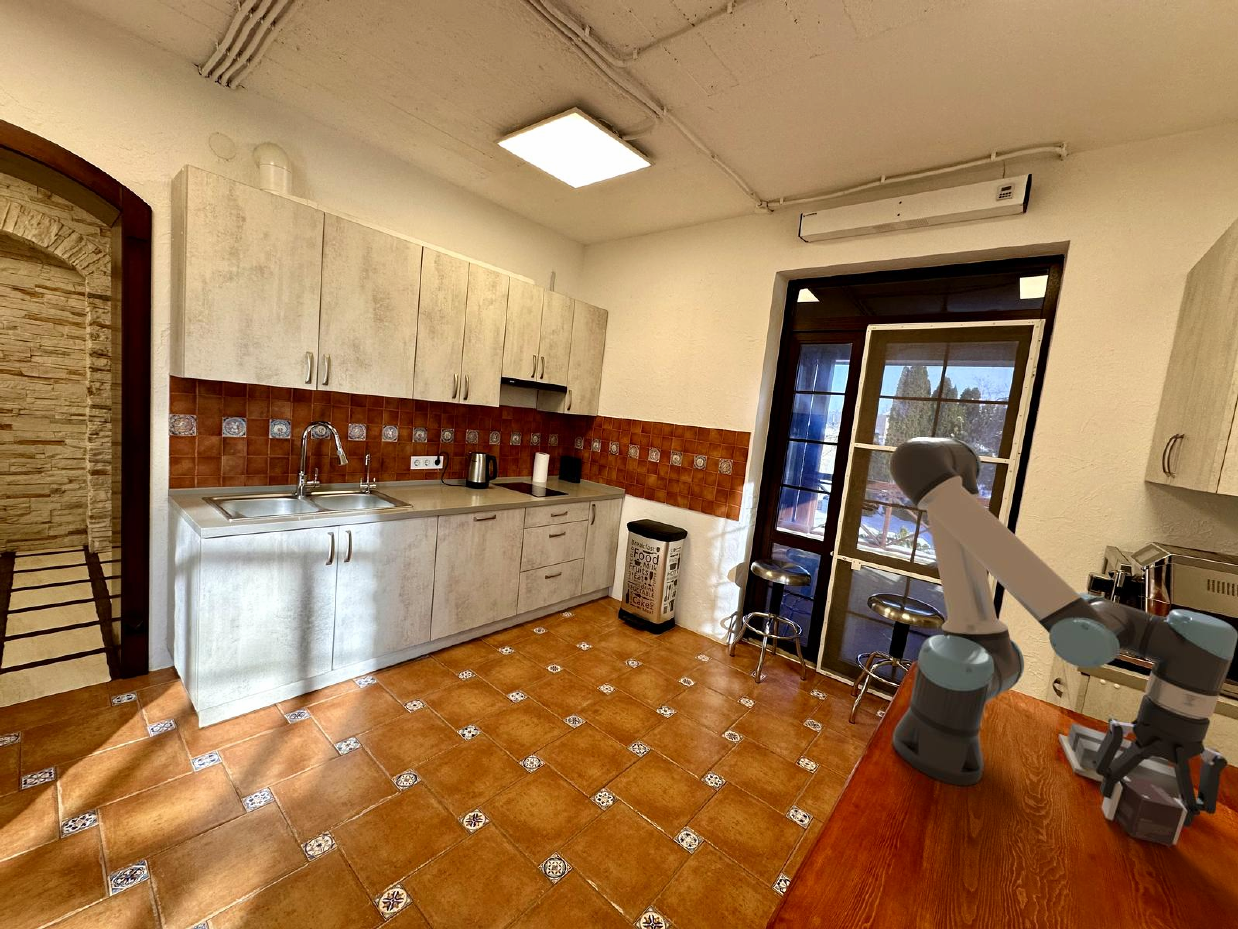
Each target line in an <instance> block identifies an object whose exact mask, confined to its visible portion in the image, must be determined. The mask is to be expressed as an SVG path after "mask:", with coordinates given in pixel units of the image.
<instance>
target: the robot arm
mask: <svg viewBox="0 0 1238 929" xmlns="http://www.w3.org/2000/svg"><path fill="white" fill-rule="evenodd" d="M889 472H890V475H891V477H892V479H893V481H894V483H895V484H896V486H897V487H898V488H899V489H900V491H901V492H902V493H903V495H904V496H906V498H907V499H909V501H910V502H911V503H912V504H913V505H914V506H915V507H916V508H917V509H918V510H922V511H926V514H927V518H928V525H929V528H930V534H931V537H932V538H931V539H932V543H933V548H934V549H933V550H934V555H935V559H936V563H937V569H938V574H939V578H940V583H941V589H942V594H943V599H944V603H945V608H946V614H947V619H946V621H945V622H944V623H943V624H942V625H941V631H942V634H937V635H933V636H930V637H928V638H926V640H925V641H924V642H923V644H922V645H921V648H920V651H919V654H918V657H917V667H916V670H915V676H914V681H913V685H912V692H911V697H910V703H909V706H908V708H907V710H906V712H905V713H904V715H903V716H902V717H901V718H900V720H899V721H898V723H897V725H896V726H895V728H894V729H893V730H894V731H893V735H892V736H893V737H892V744H893V746H894V749H895V750H896V752H897V753H898V754H899V755H900V757H901V758H902V759H904V761H906V762H907V763H908V764H910V765H911V766H912V767H913V768H915V769H916V770H918V771H920V772H921V773H923V774H925V775H927V776H929V777H931V778H933V779H935V780H938V781H941V782H943V783H944V782H945V783H947V784H951V785H956V786H971V785H974V784H977V783H979V782H980V780H981V779H982V775H983V771H984V760H983V755H982V754H983V753H982V749H981V748H982V747H981V742H980V736H979V733H980V728H981V725H982V720H983V715H984V713H985V708H986V705H987V704H988V703H989V702H991V701H992V700H993V699H995V698H997V697H998V696H1000V695H1001V694H1003V693H1004V692H1007V691H1009V690H1011V689H1012V688H1013V687H1014V686H1016V685H1017V683H1018V682H1019V680H1020V679H1021V677H1022V675H1023V673H1024V670H1025V659H1024V656H1023V652H1022V651H1021V649H1020V647H1019V645H1018V644H1017V643H1016V642H1015V641H1013V640H1012V639H1011V636H1010V633H1009V628H1008V625H1007V624H1005V622H1004V623H1003V622H1002V621H1001V620H999V618H997V613H996V608H995V604H994V599H993V594H992V590H991V587H990V586H991V585H990V580H989V576H988V573H989V574H990V575H991V576H992V577H993V578H994V579H995V580H996V581H997V582H998V583H999V584H1000V585H1001V586H1002V587H1003V588H1004V589H1005V590H1006V591H1007V592H1008V593H1009V594H1010V595H1011V597H1013V598H1014V599H1015V600H1016V601H1017V602H1018V603H1019V604H1020V605H1021V606H1022V607H1023V608H1024V609H1025V611H1027V612H1028V613H1029V614H1030V615H1031V617H1033V618H1034V619H1035V621H1037V622H1038V624H1040V625H1041V627H1043V628H1044V629H1045V631H1046V632H1047V633H1048V639H1049V644H1050V647H1051V648H1052V650H1053V651H1054V652H1055V654H1056V655H1057V656H1058V658H1061V660H1063V661H1065V662H1066V663H1068V664H1071V665H1073V666H1076V667H1079V668H1083V669H1084V668H1086V669H1092V668H1097V667H1102V666H1104V665H1107V664H1110V663H1111V662H1113V661H1114V660H1115V659H1116V658H1117V657H1118V656H1119V654H1120V653H1121V652H1122V651H1124V652H1126V653H1130V654H1133V655H1135V656H1138V657H1140V658H1143V659H1146V660H1150V661H1152V662H1153V664H1152V667H1151V671H1150V674H1149V677H1148V679H1147V682H1146V685H1145V688H1144V692H1145V693H1146V694H1143V696H1142V698H1141V701H1140V705H1139V708H1138V711H1137V716H1136V718H1135V719H1134V720H1132V721H1131V722H1130V723H1128V722H1121V721H1118V719H1116V718H1115V717H1110V718H1109V719H1108V730H1107V732H1106V736H1105V738H1104V740H1103V742H1102V743H1101V745H1100V747H1099V749H1098V751H1097V753H1096V755H1095V757H1094V759H1093V760H1092V765H1093V767H1094V769H1095V771H1096V773H1097V774H1098V775H1101V776H1103V780H1102V782H1101V784H1100V787H1099V791H1100V793H1101V795H1102V797H1103V802H1102V805H1101V809H1102V812H1103V814H1104V816H1105V818H1106V819H1108V820H1110V821H1113V820H1114V814H1115V811H1116V808H1117V805H1118V801H1119V798H1120V795H1121V792H1122V789H1123V787H1122V786H1121V784H1120V782H1119V781H1120V780H1121V779H1122V778H1124V777H1125V776H1126V775H1127V774H1128V773H1129V772H1130V771H1132V770H1133V769H1134V768H1135V767H1136V766H1137V765H1138V764H1140V763H1141V762H1142V761H1143V760H1144V759H1145V760H1147V759H1149V758H1150V757H1151V756H1155V757H1159V758H1164V759H1166V760H1168V761H1170V763H1172V765H1173V766H1172V767H1173V768H1174V770H1175V774H1176V779H1177V783H1178V787H1179V792H1180V796H1181V799H1182V801H1180V800H1179V799H1176V798H1173V799H1174V800H1175V801H1176V802H1177V803H1179V804H1180V805H1181V806H1182V807H1183V808H1184V809H1183V811H1182V816H1181V818H1180V821H1179V824H1178V828H1177V831H1176V834H1175V837H1174V840H1173V843H1172V845H1175V846H1176V845H1177V843H1178V839H1179V837H1180V834H1181V831H1182V829H1183V827H1186V828H1189V827H1191V826H1192V823H1193V820H1194V817H1195V816H1200V815H1201V812H1205V813H1207V814H1209V815H1214V814H1215V813H1216V810H1217V801H1218V795H1219V788H1220V787H1219V786H1220V781H1221V780H1220V779H1221V772H1222V771H1223V770H1224V769H1225V768H1226V767H1227V765H1228V763H1229V762H1228V760H1227V758H1225V757H1224V756H1223V755H1222V753H1221V752H1220V751H1219V750H1218V749H1213V748H1211V749H1210V748H1208V747H1206V746H1205V745H1204V743H1203V742H1204V740H1205V738H1206V735H1207V733H1208V730H1209V727H1210V724H1211V720H1210V719H1209V718H1212V716H1213V714H1214V712H1215V709H1216V706H1217V702H1218V700H1219V698H1220V693H1221V690H1222V688H1223V686H1224V682H1225V680H1226V677H1227V675H1228V672H1229V670H1230V666H1231V663H1232V662H1233V658H1234V654H1235V650H1236V646H1237V642H1238V631H1237V630H1236V628H1234V626H1232V625H1231V624H1229V623H1227V622H1226V621H1224V620H1221V619H1219V618H1216V617H1213V616H1212V615H1207V614H1204V613H1200V612H1195V611H1192V610H1186V609H1180V608H1179V609H1172V610H1171V611H1169V613H1168V615H1166V616H1162V615H1161V616H1159V615H1157V614H1153V613H1150V612H1147V611H1144V610H1141V609H1138V608H1135V607H1131V606H1129V605H1126V604H1122V603H1119V602H1115V601H1113V600H1110V599H1106V598H1105V597H1102V596H1099V595H1098V596H1095V595H1094V594H1093V595H1092V594H1089V593H1086V592H1077V591H1075V589H1073V587H1071V586H1070V585H1069V584H1068V582H1066V581H1065V580H1064V579H1063V578H1062V577H1061V576H1059V575H1058V574H1057V573H1056V572H1055V571H1054V570H1053V569H1052V568H1051V567H1050V566H1049V565H1048V564H1047V563H1045V561H1044V560H1043V559H1041V558H1040V557H1039V556H1038V555H1037V554H1036V553H1035V552H1034V551H1033V550H1032V549H1031V548H1030V547H1029V546H1027V545H1026V544H1025V543H1024V542H1023V541H1022V540H1021V539H1020V538H1019V537H1018V536H1017V535H1016V534H1014V533H1013V532H1012V531H1011V530H1010V529H1009V528H1008V527H1007V526H1006V525H1005V524H1003V522H1002V521H1001V520H1000V519H998V517H996V516H995V515H994V514H993V513H992V512H991V511H990V510H989V509H988V508H986V506H985V505H983V504H982V503H981V502H980V501H979V500H978V499H977V498H978V497H979V496H980V491H979V488H978V482H977V480H978V479H979V477H980V475H981V472H982V461H981V458H980V454H978V452H977V451H976V450H975V448H974V447H972V445H970V444H969V443H968V442H965V441H963V440H959V439H957V438H952V437H926V436H924V437H923V436H922V437H919V436H918V437H914V438H910V439H908V440H906V441H904V442H902V443H901V444H900V445H899V446H897V447H896V449H894V450H893V452H892V454H891V457H890V461H889ZM987 571H988V572H987ZM1129 733H1133V734H1134V737H1135V738H1134V739H1133V740H1132V741H1131V745H1130V747H1129V748H1127V749H1126V750H1125V751H1124V752H1123V753H1122V754H1121V755H1120V756H1118V757H1117V758H1116V759H1115V760H1114V761H1113V762H1112V760H1113V758H1114V757H1115V755H1116V753H1117V751H1118V749H1119V747H1120V746H1121V744H1122V741H1123V739H1124V738H1127V737H1128V735H1129ZM1198 756H1200V758H1201V759H1202V761H1201V765H1200V774H1199V780H1198V781H1199V782H1198V788H1197V790H1198V791H1197V796H1196V793H1195V790H1194V789H1195V787H1194V784H1193V779H1192V776H1191V766H1190V762H1189V760H1190V759H1193V758H1195V757H1198ZM1111 762H1112V763H1111Z"/></svg>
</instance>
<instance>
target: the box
mask: <svg viewBox="0 0 1238 929" xmlns="http://www.w3.org/2000/svg"><path fill="white" fill-rule="evenodd" d="M1119 782H1120V784H1121V786H1122V787H1123V789H1122V792H1121V795H1120V798H1119V801H1118V805H1117V808H1116V811H1115V814H1114V817H1113V819H1114V820H1116V822H1117V823H1118V824H1119V825H1120V826H1121V827H1122V828H1123V829H1124V830H1125V831H1126V833H1128V835H1129V836H1130V837H1131V838H1136V839H1140V840H1144V841H1149V842H1154V843H1158V844H1163V845H1165V846H1173V844H1172V843H1173V840H1174V837H1175V834H1176V831H1177V828H1178V824H1179V821H1180V818H1181V816H1182V811H1183V809H1184V808H1183V807H1182V806H1181V805H1180V804H1179V803H1177V802H1176V801H1175V800H1174V799H1173V798H1172V797H1171V796H1170V795H1169V794H1168V793H1167V792H1165V791H1164V790H1163V789H1162V788H1161V787H1160V786H1159V785H1158V784H1157V783H1156V782H1154V781H1150V780H1145V779H1140V778H1135V777H1131V776H1125V777H1124V778H1122V779H1121V780H1120V781H1119Z"/></svg>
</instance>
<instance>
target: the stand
mask: <svg viewBox="0 0 1238 929" xmlns="http://www.w3.org/2000/svg"><path fill="white" fill-rule="evenodd" d="M1106 734H1107V732H1102V731H1099V730H1096V729H1092V728H1089V727H1087V726H1086V727H1085V726H1083V725H1079V724H1077V723H1073V722H1071V724H1070V728H1069V731H1068V735H1063V734H1061V733H1059V734H1058V740H1059V743H1060V745H1061V747H1062V749H1063V751H1064V753H1065V755H1066V757H1067V760H1068V763H1069V764H1070V766H1071V768H1072V771H1073V773H1075V774H1078V775H1080V776H1083V777H1087V778H1088V779H1093V780H1094V781H1099V783H1100V782H1101V783H1102V780H1103V776H1101V775H1098V774H1097V773H1096V771H1095V769H1094V767H1093V765H1092V760H1093V759H1094V757H1095V755H1096V753H1097V751H1098V749H1099V747H1100V745H1101V743H1102V742H1103V740H1104V738H1105V736H1106ZM1131 742H1132V741H1130V740H1128V739H1125V738H1123V741H1122V744H1121V746H1120V747H1119V749H1118V751H1117V753H1116V755H1115V757H1114V758H1113V760H1112V762H1113V761H1114V760H1115V759H1116V758H1117V757H1118V756H1120V755H1121V754H1122V753H1123V752H1124V751H1125V750H1126V749H1127V748H1129V747H1130V745H1131ZM1112 762H1111V763H1112ZM1170 765H1171V762H1170V761H1168V760H1166V759H1164V758H1159V757H1155V756H1151V757H1150V758H1149V759H1147V760H1145V759H1144V760H1143V761H1142V762H1141V763H1140V764H1138V765H1137V766H1136V767H1135V768H1134V769H1133V770H1132V771H1130V772H1129V773H1128V774H1127V775H1126V776H1131V777H1135V778H1140V779H1145V780H1150V781H1154V782H1156V783H1157V784H1158V785H1159V786H1160V787H1161V788H1162V789H1163V790H1164V791H1165V792H1167V793H1168V794H1169V795H1170V796H1171V797H1172V798H1176V799H1179V800H1180V801H1182V799H1181V796H1180V792H1179V787H1178V783H1177V779H1176V774H1175V770H1174V766H1170Z"/></svg>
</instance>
